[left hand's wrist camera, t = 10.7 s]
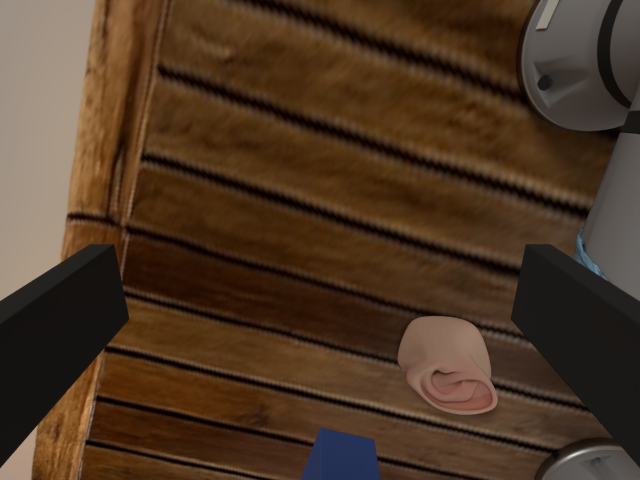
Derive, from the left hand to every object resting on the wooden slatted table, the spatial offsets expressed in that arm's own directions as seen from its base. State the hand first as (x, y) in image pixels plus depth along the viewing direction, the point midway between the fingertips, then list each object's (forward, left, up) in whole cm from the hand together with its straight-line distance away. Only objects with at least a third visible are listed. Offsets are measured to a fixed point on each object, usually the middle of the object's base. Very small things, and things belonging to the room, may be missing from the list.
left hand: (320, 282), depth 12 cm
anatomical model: (-22, +20, -29) cm, 41 cm away
